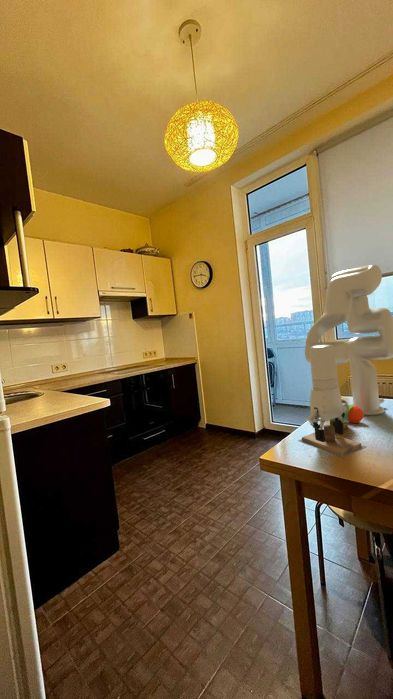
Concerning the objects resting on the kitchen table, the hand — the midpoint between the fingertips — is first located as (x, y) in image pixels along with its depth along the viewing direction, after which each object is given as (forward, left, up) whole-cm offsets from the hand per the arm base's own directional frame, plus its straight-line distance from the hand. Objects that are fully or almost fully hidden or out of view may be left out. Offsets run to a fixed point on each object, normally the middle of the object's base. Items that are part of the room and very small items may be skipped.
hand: (329, 436), depth 93 cm
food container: (-15, -7, -3) cm, 17 cm away
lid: (0, 0, -2) cm, 2 cm away
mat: (0, 0, -3) cm, 3 cm away
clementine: (-23, -8, -3) cm, 25 cm away
